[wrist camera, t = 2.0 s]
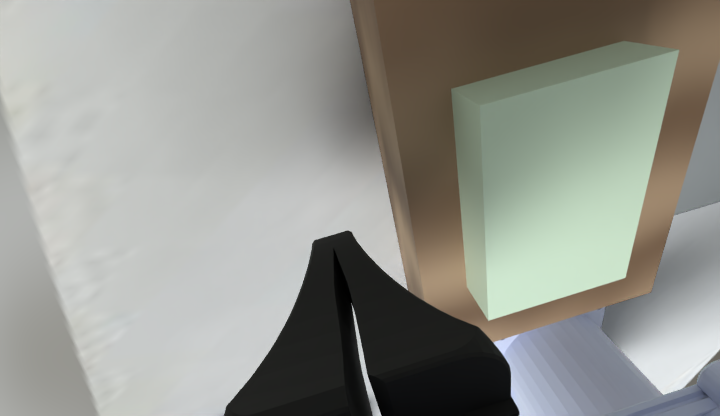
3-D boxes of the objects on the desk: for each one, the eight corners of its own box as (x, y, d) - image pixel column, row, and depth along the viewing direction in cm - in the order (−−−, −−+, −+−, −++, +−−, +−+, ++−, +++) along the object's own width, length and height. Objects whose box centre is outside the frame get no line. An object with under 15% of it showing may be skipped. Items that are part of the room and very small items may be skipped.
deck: (595, 247, 23) (651, 292, 20) (411, 304, 22) (435, 360, 19) (660, -134, 13) (788, -174, 10) (339, -53, 13) (361, -67, 9)
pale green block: (590, 248, 17) (625, 277, 15) (466, 287, 17) (488, 320, 15) (623, 40, 12) (679, 49, 11) (450, 88, 12) (479, 105, 10)
